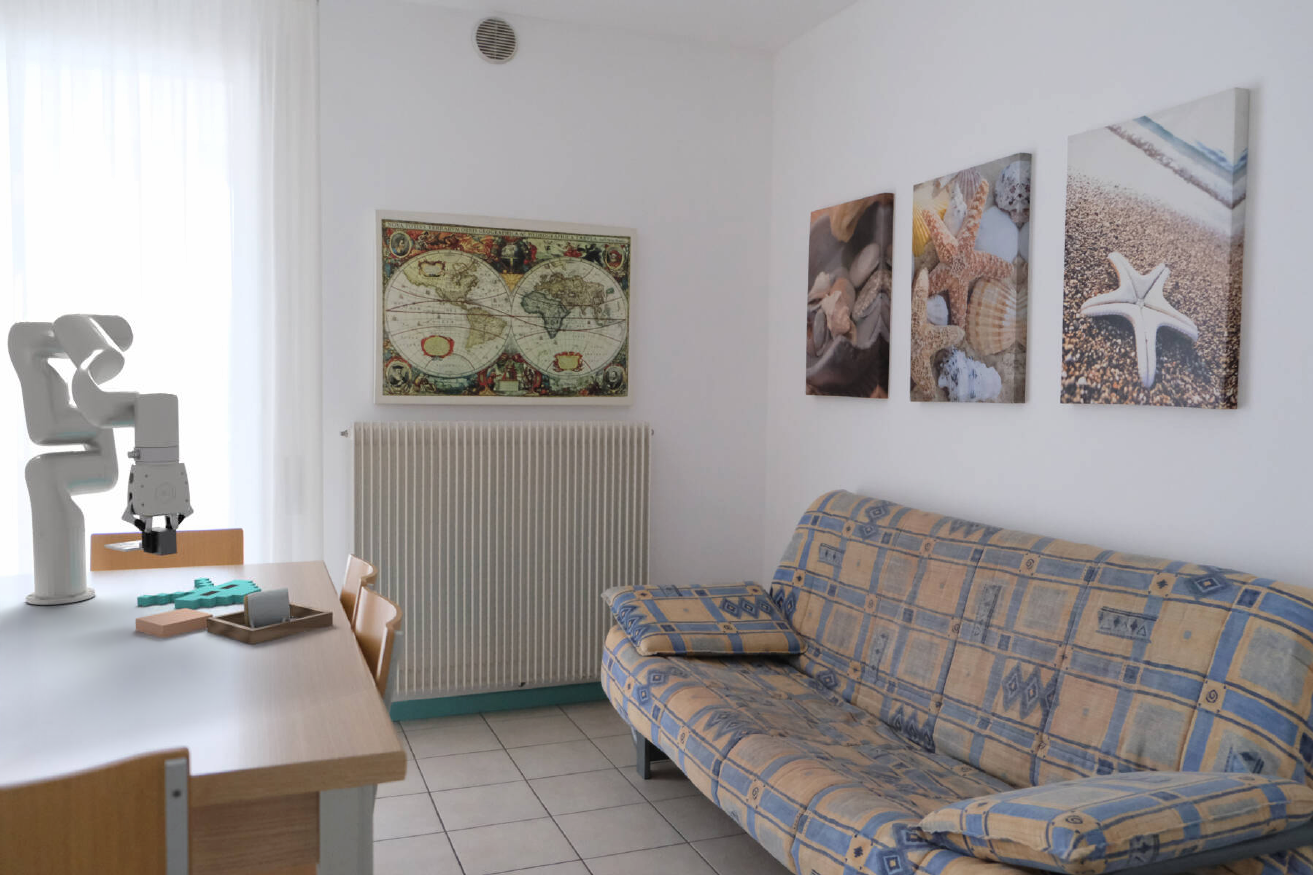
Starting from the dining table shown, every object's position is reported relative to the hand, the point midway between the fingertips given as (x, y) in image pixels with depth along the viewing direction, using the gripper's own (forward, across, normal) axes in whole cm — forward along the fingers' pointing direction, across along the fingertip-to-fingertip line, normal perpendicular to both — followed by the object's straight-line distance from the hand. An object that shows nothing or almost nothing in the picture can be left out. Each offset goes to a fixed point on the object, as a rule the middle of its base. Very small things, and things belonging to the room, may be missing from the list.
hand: (159, 550), depth 184 cm
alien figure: (+16, +18, +15) cm, 28 cm away
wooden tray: (+14, +12, -18) cm, 26 cm away
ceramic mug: (+15, +11, -20) cm, 27 cm away
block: (+14, 0, +1) cm, 14 cm away
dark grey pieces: (+1, 0, +6) cm, 6 cm away
